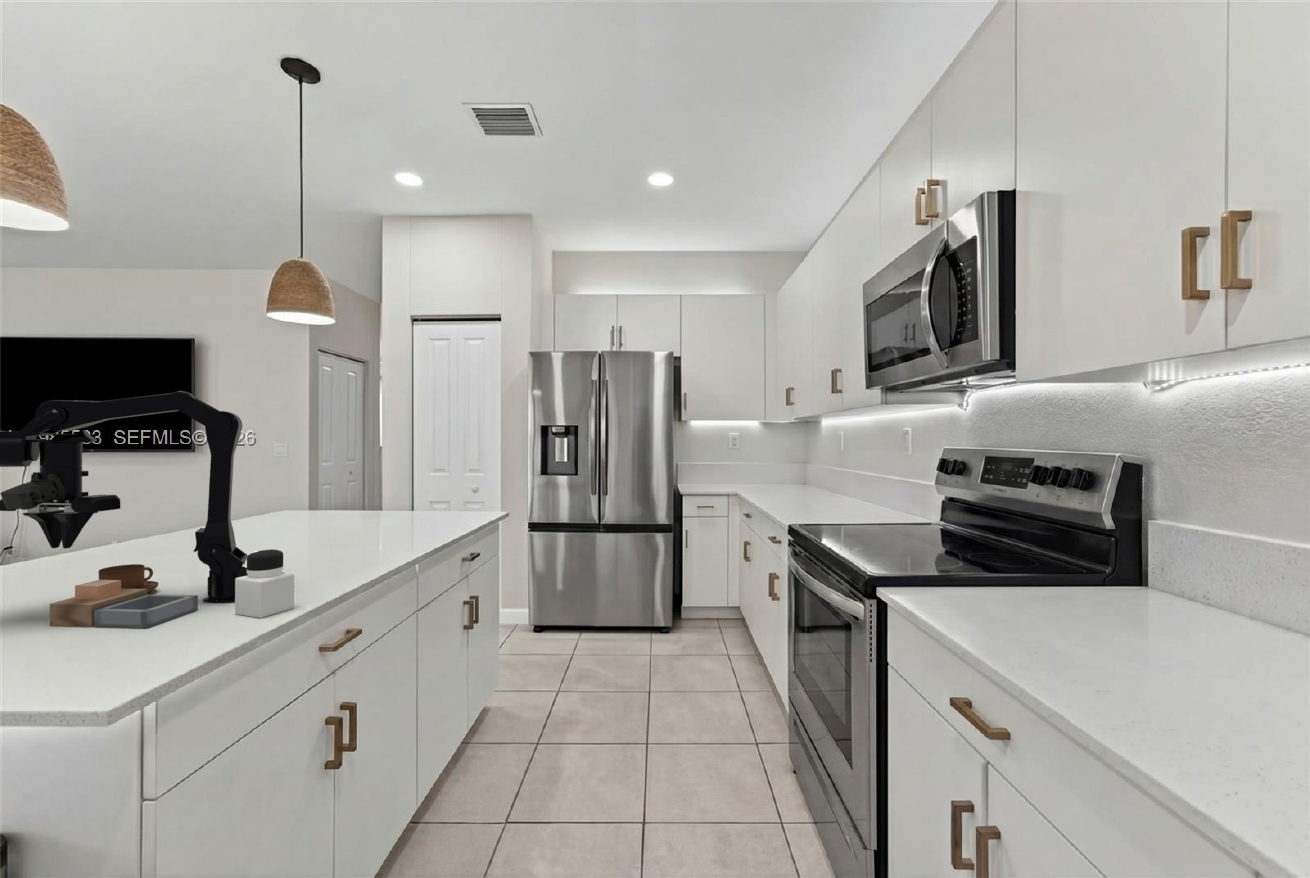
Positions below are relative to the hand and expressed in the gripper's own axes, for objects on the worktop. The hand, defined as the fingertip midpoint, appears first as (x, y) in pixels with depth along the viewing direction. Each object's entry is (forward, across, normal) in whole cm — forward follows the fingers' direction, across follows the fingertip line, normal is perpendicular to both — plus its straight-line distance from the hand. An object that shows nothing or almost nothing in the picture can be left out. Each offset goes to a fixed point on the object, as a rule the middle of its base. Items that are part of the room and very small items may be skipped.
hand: (61, 548), depth 112 cm
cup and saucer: (+13, -2, +14) cm, 19 cm away
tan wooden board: (+13, +8, 0) cm, 15 cm away
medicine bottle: (+13, +36, +6) cm, 39 cm away
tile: (+9, +8, 0) cm, 12 cm away
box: (+13, +18, 0) cm, 22 cm away
